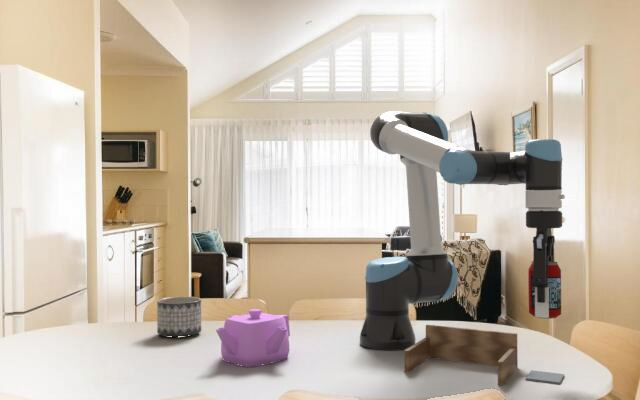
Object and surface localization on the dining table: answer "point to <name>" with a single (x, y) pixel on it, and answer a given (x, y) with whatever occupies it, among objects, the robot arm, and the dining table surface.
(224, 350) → the teakettle
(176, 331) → the planter
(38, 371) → the dining table surface
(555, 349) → the dining table surface
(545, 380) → the mat
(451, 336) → the partition
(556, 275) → the beverage can
